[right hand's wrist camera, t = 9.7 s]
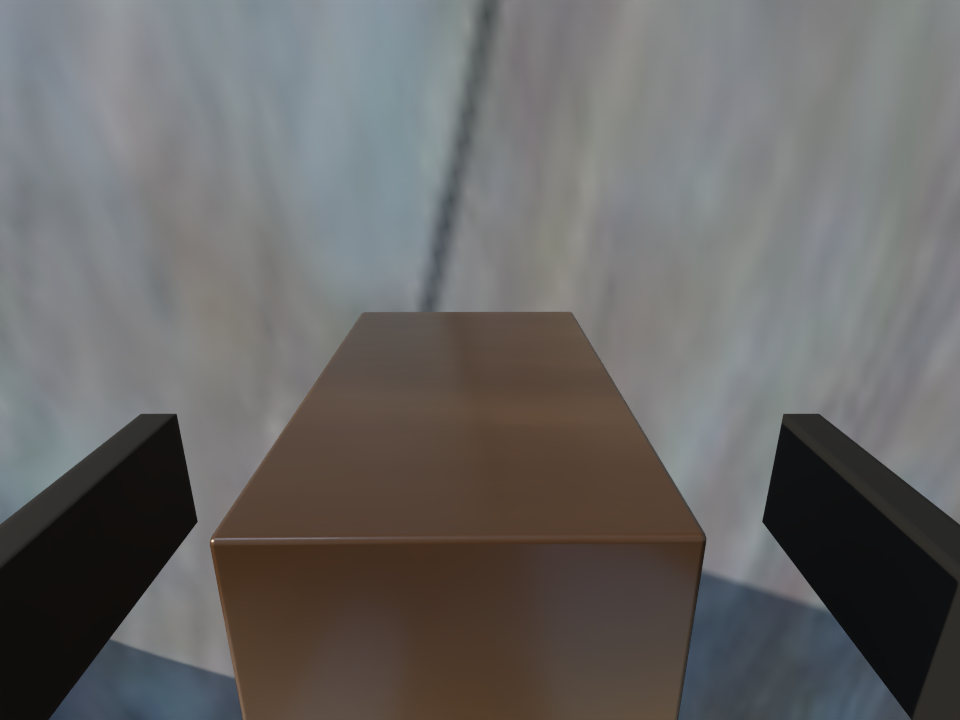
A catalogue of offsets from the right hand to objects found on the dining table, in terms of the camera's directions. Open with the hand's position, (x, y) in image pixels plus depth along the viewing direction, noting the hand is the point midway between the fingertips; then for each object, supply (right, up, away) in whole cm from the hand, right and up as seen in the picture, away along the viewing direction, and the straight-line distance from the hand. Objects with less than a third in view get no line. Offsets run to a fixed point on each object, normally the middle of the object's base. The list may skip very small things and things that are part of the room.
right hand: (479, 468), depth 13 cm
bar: (0, -8, +6) cm, 10 cm away
